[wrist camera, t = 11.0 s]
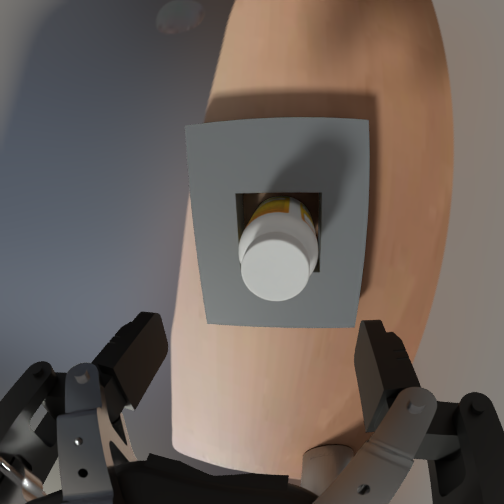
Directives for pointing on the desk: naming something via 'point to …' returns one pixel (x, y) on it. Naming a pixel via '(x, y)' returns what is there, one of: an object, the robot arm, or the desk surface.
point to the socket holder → (270, 181)
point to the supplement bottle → (278, 249)
